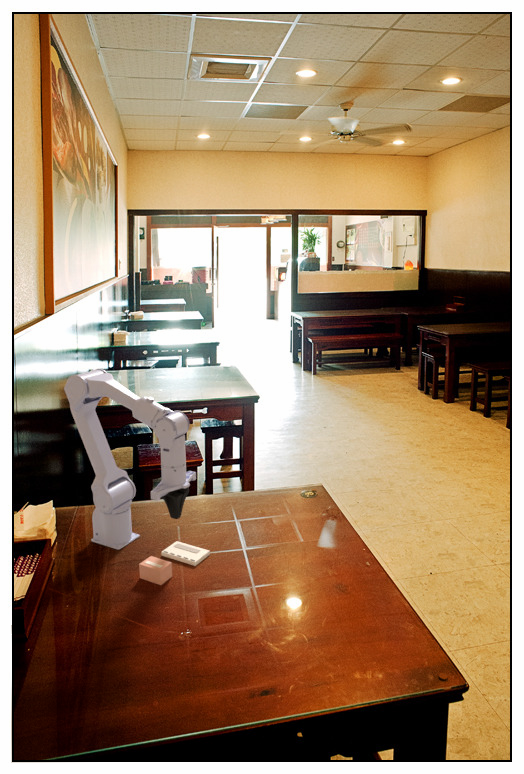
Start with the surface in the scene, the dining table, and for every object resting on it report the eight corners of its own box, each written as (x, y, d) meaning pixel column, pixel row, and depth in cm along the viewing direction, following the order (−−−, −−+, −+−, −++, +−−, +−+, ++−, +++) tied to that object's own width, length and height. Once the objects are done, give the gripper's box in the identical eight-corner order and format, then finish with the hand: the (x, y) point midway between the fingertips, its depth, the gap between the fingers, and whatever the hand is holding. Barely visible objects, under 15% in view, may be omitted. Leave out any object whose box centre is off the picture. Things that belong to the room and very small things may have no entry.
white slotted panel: (161, 555, 135) (161, 551, 135) (176, 544, 140) (176, 540, 140) (195, 566, 130) (195, 561, 130) (209, 554, 136) (209, 550, 135)
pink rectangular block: (140, 578, 126) (139, 563, 125) (151, 569, 129) (150, 555, 128) (161, 585, 123) (160, 570, 122) (172, 576, 126) (171, 562, 125)
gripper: (167, 477, 122) (169, 534, 125) (205, 457, 134) (206, 509, 138) (142, 471, 126) (145, 526, 129) (182, 452, 138) (184, 503, 141)
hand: (175, 517), depth 133 cm, fingers closed
